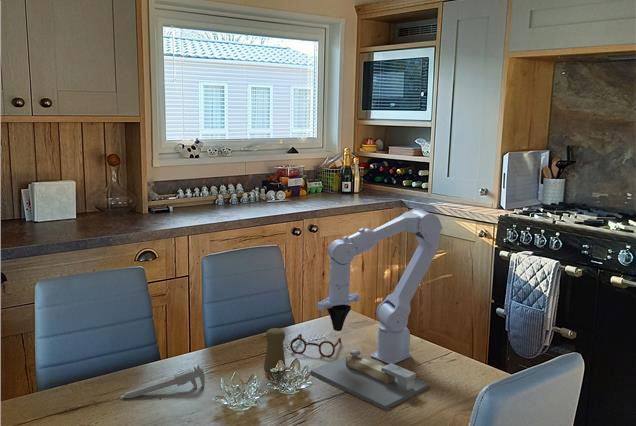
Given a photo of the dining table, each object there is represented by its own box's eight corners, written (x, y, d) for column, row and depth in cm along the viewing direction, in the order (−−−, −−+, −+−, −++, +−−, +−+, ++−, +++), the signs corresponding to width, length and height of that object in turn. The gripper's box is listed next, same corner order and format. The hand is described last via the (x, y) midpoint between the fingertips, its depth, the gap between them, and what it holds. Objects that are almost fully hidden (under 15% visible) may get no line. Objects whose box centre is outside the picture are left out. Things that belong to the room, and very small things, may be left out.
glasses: (289, 354, 178) (290, 338, 177) (300, 338, 190) (300, 322, 189) (334, 359, 175) (334, 343, 174) (341, 342, 187) (342, 327, 187)
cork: (282, 373, 163) (283, 335, 162) (260, 371, 165) (261, 332, 163) (288, 364, 169) (289, 327, 167) (267, 362, 170) (267, 324, 169)
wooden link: (343, 365, 167) (343, 351, 167) (354, 360, 170) (354, 347, 170) (385, 384, 157) (386, 369, 156) (396, 379, 160) (397, 365, 159)
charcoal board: (355, 356, 177) (355, 352, 176) (429, 387, 158) (429, 384, 158) (310, 373, 164) (310, 370, 164) (385, 409, 146) (385, 406, 146)
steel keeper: (380, 382, 158) (381, 367, 158) (390, 377, 161) (391, 363, 160) (405, 393, 153) (406, 377, 152) (414, 388, 155) (415, 373, 155)
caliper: (203, 386, 155) (203, 363, 154) (204, 388, 154) (204, 365, 153) (120, 398, 148) (119, 374, 147) (120, 400, 147) (119, 376, 146)
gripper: (330, 291, 161) (328, 340, 163) (367, 282, 170) (365, 328, 173) (312, 285, 166) (310, 332, 168) (350, 276, 175) (348, 321, 178)
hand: (337, 330), depth 171 cm, fingers closed
